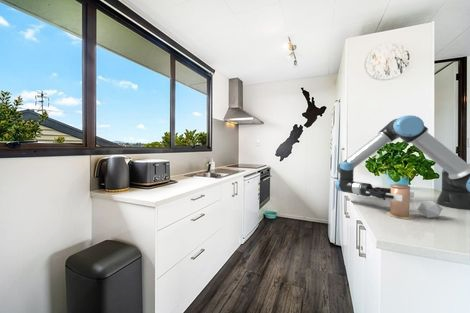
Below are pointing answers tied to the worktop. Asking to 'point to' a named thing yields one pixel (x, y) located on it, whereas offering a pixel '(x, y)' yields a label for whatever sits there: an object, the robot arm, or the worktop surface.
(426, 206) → the die
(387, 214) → the disc
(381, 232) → the worktop surface
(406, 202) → the jar
